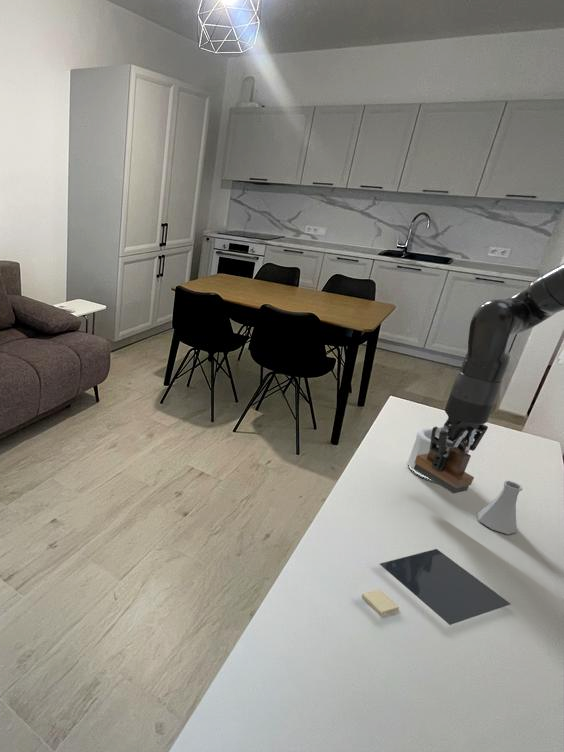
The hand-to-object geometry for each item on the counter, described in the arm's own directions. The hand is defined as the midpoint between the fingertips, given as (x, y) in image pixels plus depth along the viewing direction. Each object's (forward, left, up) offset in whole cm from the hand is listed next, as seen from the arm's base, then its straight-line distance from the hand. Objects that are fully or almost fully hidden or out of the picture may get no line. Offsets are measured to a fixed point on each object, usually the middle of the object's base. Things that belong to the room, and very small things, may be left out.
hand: (445, 468), depth 107 cm
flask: (-10, +8, -11) cm, 17 cm away
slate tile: (+20, +18, -11) cm, 29 cm away
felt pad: (+35, +18, -11) cm, 41 cm away
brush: (0, 0, -3) cm, 3 cm away
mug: (-16, -12, -11) cm, 23 cm away
